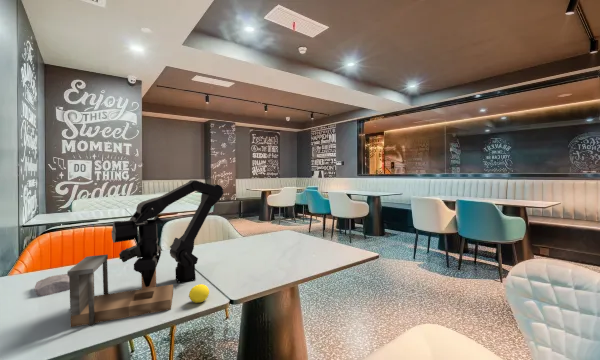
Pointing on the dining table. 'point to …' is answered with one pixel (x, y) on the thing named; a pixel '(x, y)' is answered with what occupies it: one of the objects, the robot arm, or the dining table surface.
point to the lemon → (199, 293)
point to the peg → (153, 282)
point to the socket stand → (110, 296)
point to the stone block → (52, 285)
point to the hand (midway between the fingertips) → (149, 281)
